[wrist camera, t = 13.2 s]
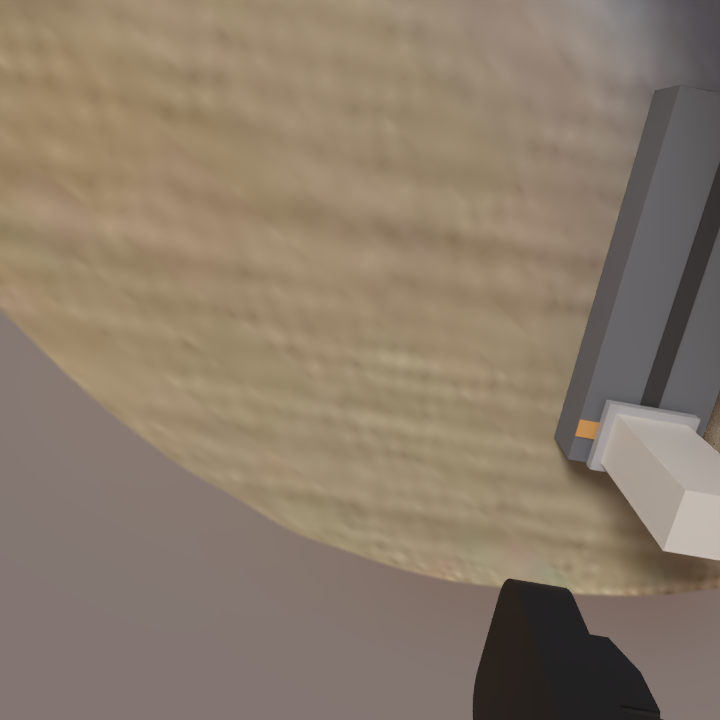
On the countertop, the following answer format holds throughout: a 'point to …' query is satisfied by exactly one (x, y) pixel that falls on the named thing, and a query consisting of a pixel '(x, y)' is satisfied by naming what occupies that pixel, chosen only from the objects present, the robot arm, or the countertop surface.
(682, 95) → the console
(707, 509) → the fader tab
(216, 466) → the countertop surface
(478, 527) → the countertop surface
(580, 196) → the countertop surface
